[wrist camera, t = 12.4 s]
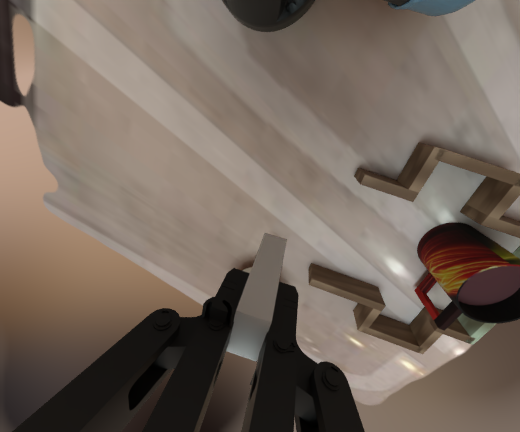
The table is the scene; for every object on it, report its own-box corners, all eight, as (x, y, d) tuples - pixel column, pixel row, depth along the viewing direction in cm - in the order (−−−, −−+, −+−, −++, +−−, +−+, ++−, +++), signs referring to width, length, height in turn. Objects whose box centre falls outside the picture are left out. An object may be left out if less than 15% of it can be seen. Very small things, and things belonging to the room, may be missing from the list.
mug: (411, 287, 45) (444, 342, 34) (420, 223, 39) (463, 264, 29) (470, 288, 42) (525, 348, 32) (487, 221, 37) (561, 263, 26)
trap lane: (377, 128, 35) (387, 130, 30) (582, 195, 33) (625, 207, 29) (298, 290, 50) (297, 307, 45) (437, 341, 48) (450, 364, 44)
